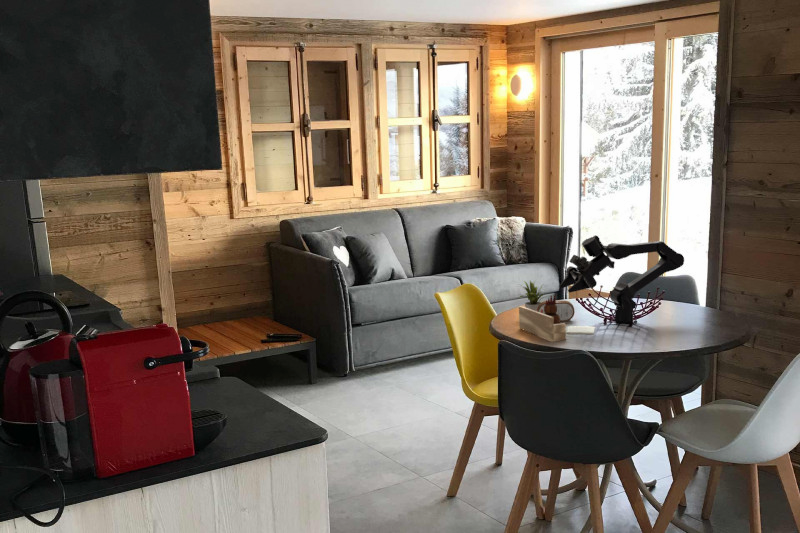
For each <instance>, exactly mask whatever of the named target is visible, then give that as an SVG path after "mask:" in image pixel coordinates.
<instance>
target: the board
mask: <svg viewBox="0 0 800 533" xmlns="http://www.w3.org/2000/svg"><path fill="white" fill-rule="evenodd" d="M595 331H596V327H595V326H583V325H581V326H579V325H577V326H575V325H568V328H567V331H566V335H568V334H571V335H572V334H573V335H594V334H595Z"/></svg>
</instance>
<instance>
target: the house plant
mask: <svg viewBox="0 0 800 533" xmlns="http://www.w3.org/2000/svg"><path fill="white" fill-rule="evenodd" d="M536 280H537V279H536ZM536 280H535V281H533V282H532V281H531V280H529V284H528V283H527V282H526V281H525V280H523V282H524V284H525V286H522V284H518V285H519V286H518V287H523V289H524V292H526V293H525V295H521V294H520V295H519V297H518V299H519V298H522V297H523V298H524V297H526V299H528V300H527V302H524V307H526V308H529V309H531V310H534V311H537V308H538V306H539V304H540V303H542V301H541V300H542V299H544V298H545V294H543V293H542V291H541V290H542V289H543V286H544V284H542V285H541V286H540V288H539V290H538V286H535V283H536ZM547 286H548V284H546V285H545V287H547ZM542 296H543V297H542ZM541 297H542V298H541ZM546 298H547V299H548V298H549V297H547V296H546Z"/></svg>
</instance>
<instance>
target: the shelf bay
mask: <svg viewBox="0 0 800 533" xmlns="http://www.w3.org/2000/svg"><path fill="white" fill-rule="evenodd" d="M518 323H519V324H518V327H519V328H521V329H524V330H526V331H528V332H527V333H529V332H531V333H533V334H532V335H534V334H535V335H534V336H536V335H537V336H536V337H538V336H539V337H538V338H541V339H543V338H544V339H543V340H545V341H546V340H547V341H548V342H557V341H558V342H559V341H565V340H567V339H566V338H567V331H566V328H567V327H566V326H567V325H566V323H564V322H563V323H562V322H560V324H554V318H553V317H551V316H548V315H546V314H543V313H540V312H537V311H534V310H531V309H529V308H526V307H525V306H523V305H520V306H518ZM519 328H518V329H519ZM521 329H520V330H521ZM524 330H523V331H524ZM526 331H525V332H526ZM531 333H530V334H531Z"/></svg>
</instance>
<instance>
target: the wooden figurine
mask: <svg viewBox="0 0 800 533" xmlns="http://www.w3.org/2000/svg"><path fill="white" fill-rule="evenodd" d="M556 297H557V296H556V293H555V294H554V295H553V297H552V295H550V298H549V297H548V298H547V300H545V301H546V305H545V306H544V312H545V314H546V315H548V316H551V317H553V318H554V324H561V322H560V317H559V315H558V314H556V312H557V306H556V301H557V300H556V299H557V298H556Z"/></svg>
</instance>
